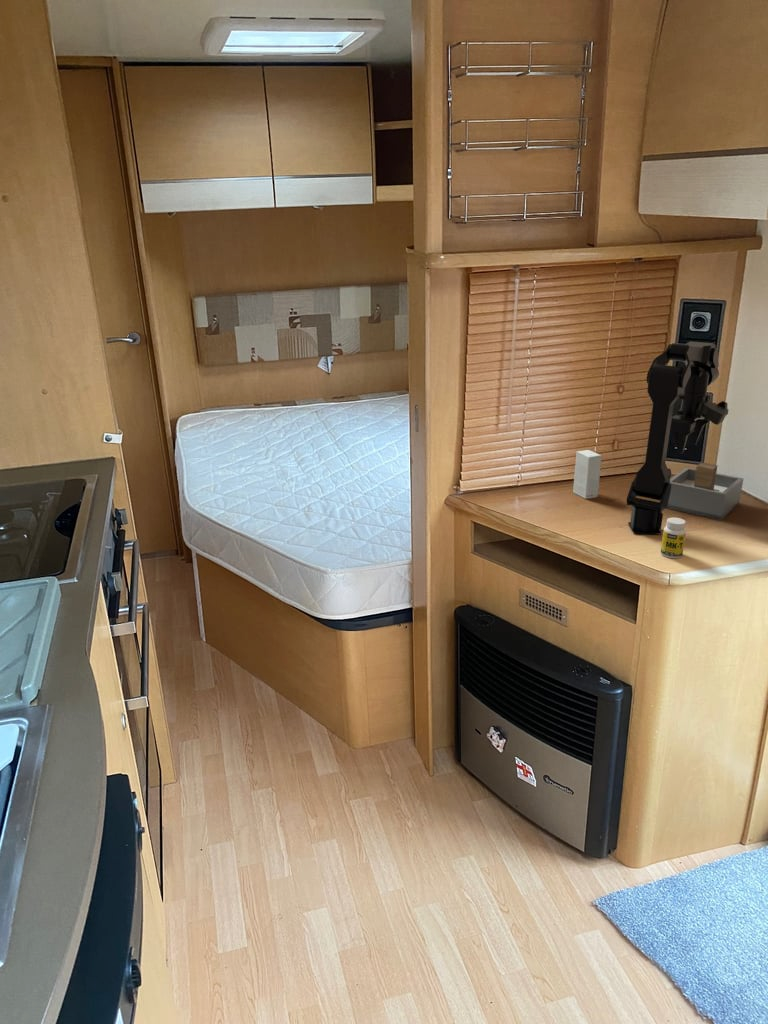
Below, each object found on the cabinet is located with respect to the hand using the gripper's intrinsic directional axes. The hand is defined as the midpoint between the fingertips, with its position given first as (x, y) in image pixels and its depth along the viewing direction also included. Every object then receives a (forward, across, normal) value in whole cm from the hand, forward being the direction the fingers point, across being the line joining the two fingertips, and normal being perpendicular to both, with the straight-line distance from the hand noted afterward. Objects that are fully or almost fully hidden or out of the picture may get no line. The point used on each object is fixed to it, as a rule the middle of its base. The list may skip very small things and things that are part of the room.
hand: (687, 448), depth 207 cm
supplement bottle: (+13, -39, -13) cm, 43 cm away
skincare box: (+13, -16, +20) cm, 29 cm away
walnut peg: (+12, -4, -7) cm, 15 cm away
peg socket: (+13, -4, -7) cm, 16 cm away
